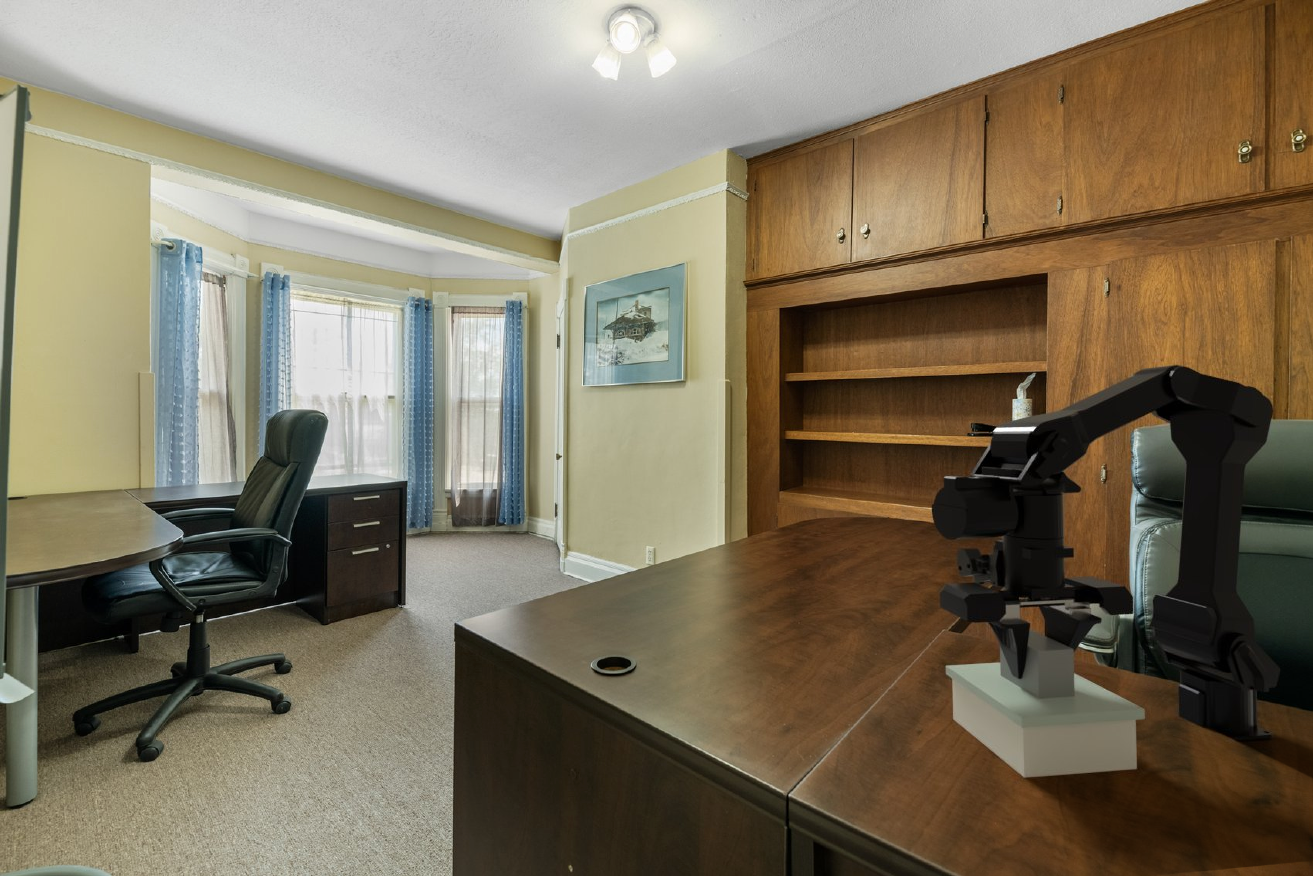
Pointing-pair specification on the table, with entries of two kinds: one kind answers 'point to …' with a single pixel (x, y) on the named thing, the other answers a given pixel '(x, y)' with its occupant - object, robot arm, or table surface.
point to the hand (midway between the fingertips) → (1035, 676)
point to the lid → (1044, 689)
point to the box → (1047, 740)
